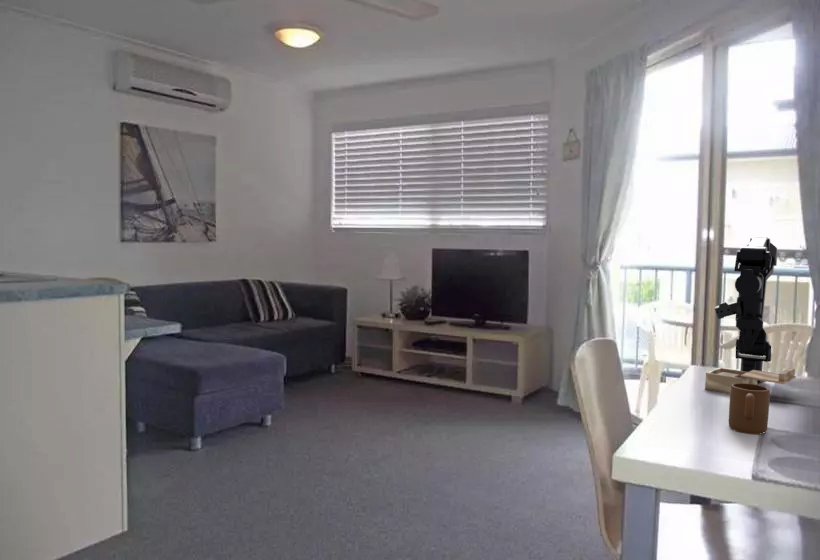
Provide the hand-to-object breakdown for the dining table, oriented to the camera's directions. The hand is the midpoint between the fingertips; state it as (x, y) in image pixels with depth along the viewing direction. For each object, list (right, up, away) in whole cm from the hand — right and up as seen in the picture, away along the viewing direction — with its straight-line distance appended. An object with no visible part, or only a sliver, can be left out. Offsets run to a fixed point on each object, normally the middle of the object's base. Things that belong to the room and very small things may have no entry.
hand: (746, 351), depth 182 cm
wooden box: (-3, -11, +3) cm, 12 cm away
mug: (-18, -14, -37) cm, 44 cm away
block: (-3, -10, +4) cm, 11 cm away
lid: (+4, -7, -3) cm, 8 cm away
